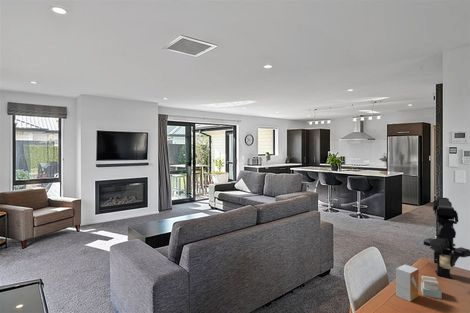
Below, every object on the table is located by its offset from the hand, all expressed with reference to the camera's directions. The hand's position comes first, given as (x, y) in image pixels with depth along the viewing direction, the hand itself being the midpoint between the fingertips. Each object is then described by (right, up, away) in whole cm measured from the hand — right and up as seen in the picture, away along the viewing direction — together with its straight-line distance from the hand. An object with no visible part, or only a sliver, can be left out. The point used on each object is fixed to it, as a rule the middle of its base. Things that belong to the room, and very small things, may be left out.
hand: (445, 264), depth 133 cm
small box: (-23, -12, -7) cm, 27 cm away
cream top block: (-11, -9, -5) cm, 15 cm away
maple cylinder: (0, -1, 0) cm, 1 cm away
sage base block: (-11, -12, -5) cm, 17 cm away
